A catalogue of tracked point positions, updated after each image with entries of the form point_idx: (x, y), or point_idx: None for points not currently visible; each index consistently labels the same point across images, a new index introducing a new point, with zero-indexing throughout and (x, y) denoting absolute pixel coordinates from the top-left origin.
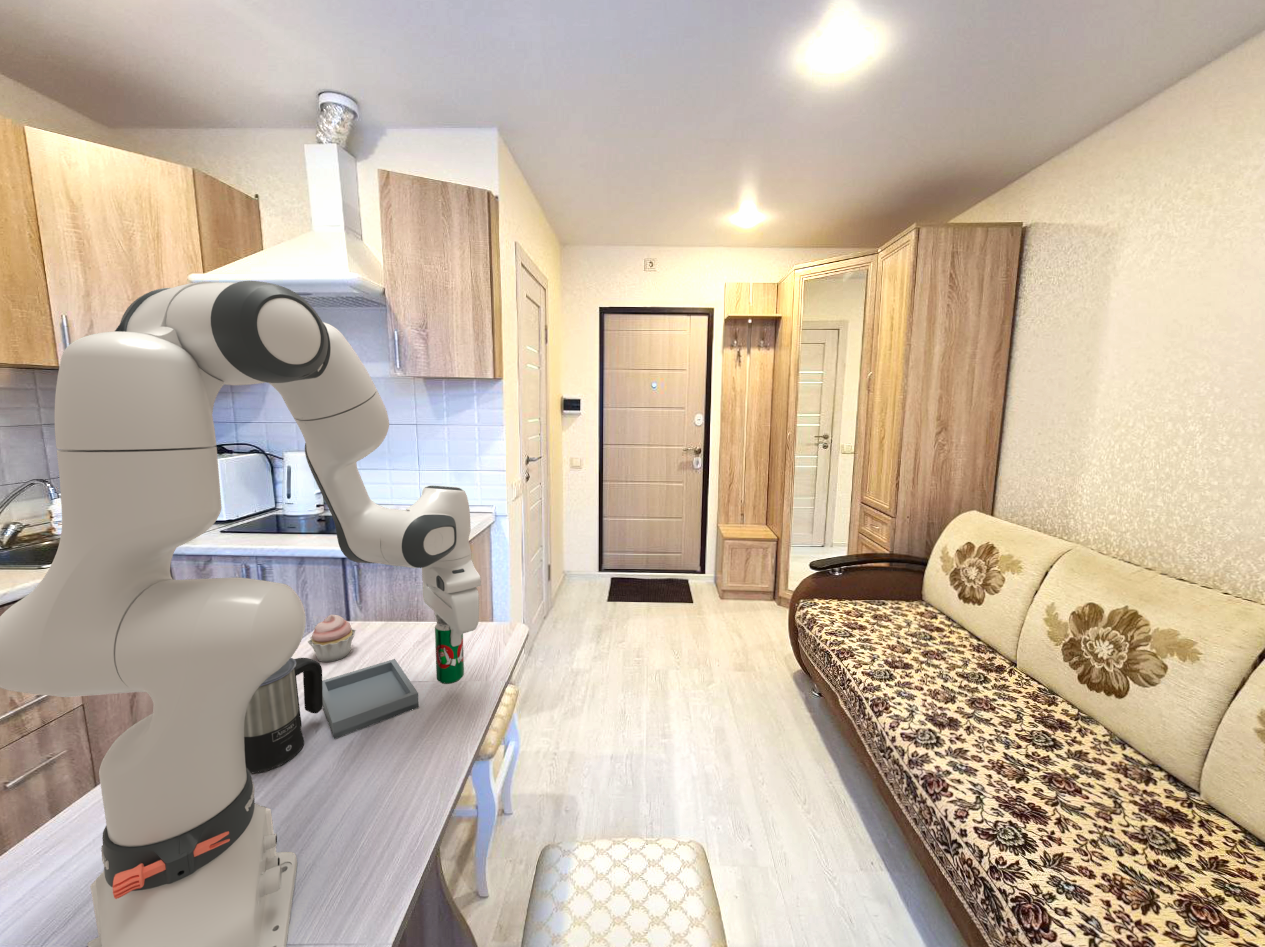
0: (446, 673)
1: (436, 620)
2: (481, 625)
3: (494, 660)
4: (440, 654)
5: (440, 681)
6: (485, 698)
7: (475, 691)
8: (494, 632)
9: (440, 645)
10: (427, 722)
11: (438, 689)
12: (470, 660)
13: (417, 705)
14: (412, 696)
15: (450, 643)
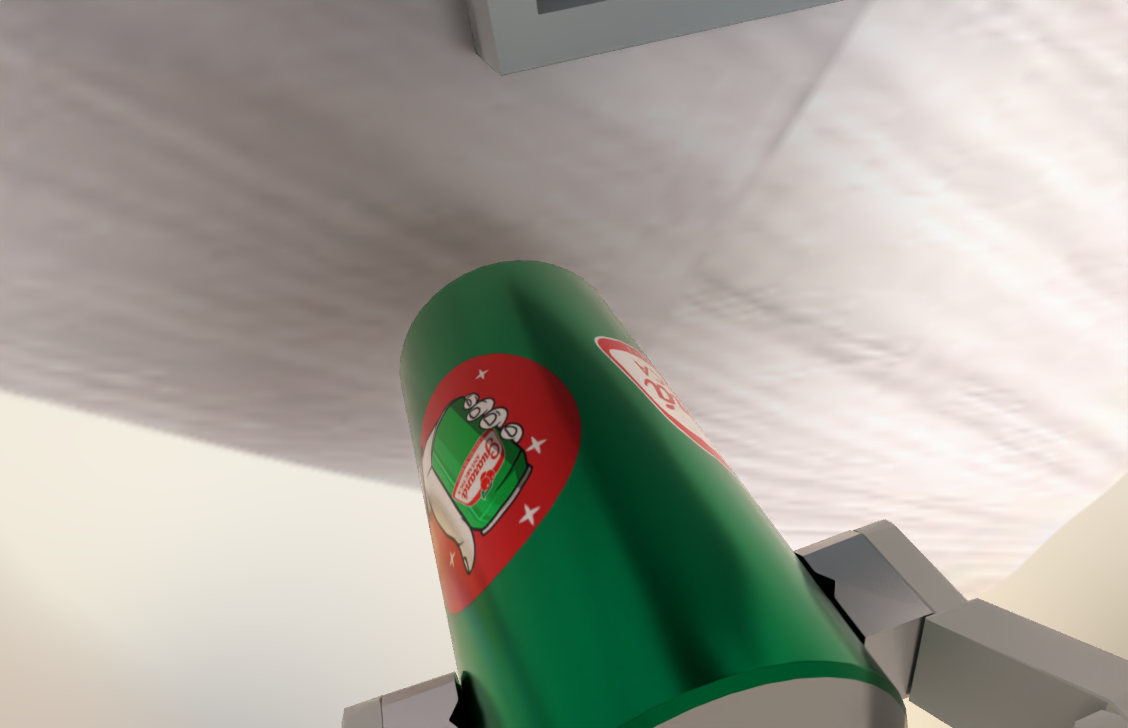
0: (419, 379)
1: (1022, 629)
2: (1110, 465)
3: None
4: (487, 457)
5: (444, 289)
6: (390, 455)
7: None
8: (1000, 517)
9: (514, 545)
10: (246, 95)
11: (634, 206)
12: (830, 401)
13: (476, 46)
14: (488, 21)
15: (403, 701)
